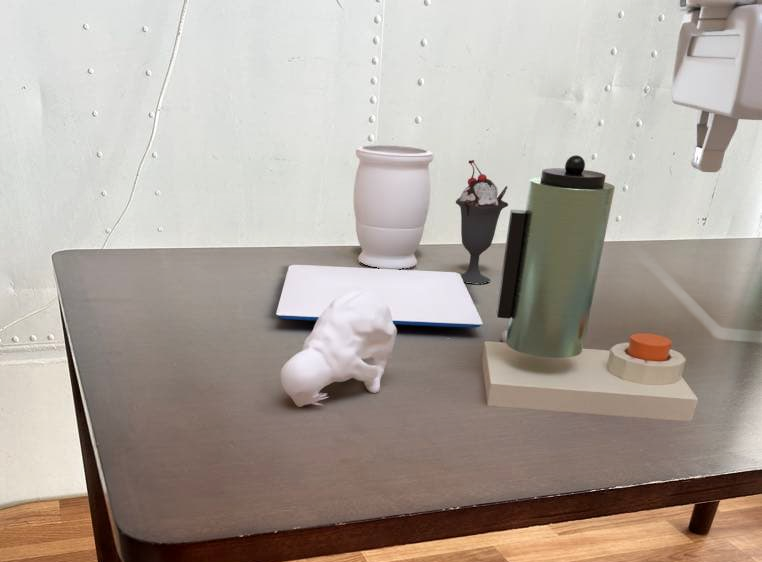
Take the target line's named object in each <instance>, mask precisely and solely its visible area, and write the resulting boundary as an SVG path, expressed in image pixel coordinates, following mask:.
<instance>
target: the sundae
mask: <svg viewBox="0 0 762 562" xmlns="http://www.w3.org/2000/svg"><path fill="white" fill-rule="evenodd" d="M468 164H470V165H471V168H472V175H471V177H470V178H468V180H467V185H468V186H466V187H464V189H463V190H462V192H461V194H460V197H459V198H457V199H456V200H455V204H456V205H458V207H459V208H460V217H461V219H460V221H461V222H460V223H461V224H460V234H461V244H462V246H463V247H464V249H465V250H466V251H467V252H468V253H469V255H470V258H469V264H468V268H467V270H466V271H465V272H463V273H462V274H460V273H459V274H460V275H461V277H462V280H463V281H464V282H469V283H470V282H471V283H485V282H488V281H490V282H491V279H490V278H489V277H487V276H484V275H483V274H482V273H481V272H480V268H479V262H480V256H481V255H482V254H483V253H484V252H485V251H487V250H488V249H489V248H490V247H491V246H492V244H493V240H494V237H495V233H496V229H497V226H498V225H497V224H498V221H499V217H500V215H501V212H502V210H503V209H505V208H507V207H508V206H509V203H508V202H506V201H504V200H503V198H504V196H505V194H506V192H507V190H508V186H507V185H506V186H504V188H503V189H502V190H501V192H500V193H499V192H498V186H497V185H496V184H495V183H494V182H493V181H492V180H491V179H488V178H487V175H486V174H484V173H482V172H481V171H480V169H479V168H478V166H477V165H476V163H475V160H474V159H472V160H468ZM474 166H475V167H474ZM475 168H476V170H477V171H478V173H479V175H478V176H477V178H476V177H474V176H475ZM498 193H499V195H498Z"/></svg>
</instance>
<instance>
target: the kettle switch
mask: <svg viewBox="0 0 762 562" xmlns="http://www.w3.org/2000/svg"><path fill="white" fill-rule="evenodd" d="M628 343H629V347H628V352H627V355H629V356H631V357H633V358H637V359H641V360H645V361H657V362H662V361H667V359H668V355H669V351H670V349H671V348H672V343H673V342H672V340H671V339H670V338H667V337H666V336H663V335H659V334H654V333H645V332H644V333H643V332H642V333H634V334H632V335H631V336H630V338H629V342H628Z"/></svg>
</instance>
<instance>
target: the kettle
mask: <svg viewBox="0 0 762 562" xmlns="http://www.w3.org/2000/svg"><path fill="white" fill-rule="evenodd" d="M585 167H586V162H585V160H584V158H583V157H582V156H580V155H577V154H576V155H572V156H570V157H569V158H567V160H566V162H565V164H564V167H550V168H544V169H542V170H541V175H540V176H538V177H532V178H530V179H529V183H528V190H527V198H526V204H525V210H524V209H510V211H509V212H510V213H509V219H508V227H507V233H506V240H505V248H504V256H503V263H502V270H501V277H500V285H499V292H498V299H497V307H496V318H498V319H509V320H508V326H507V330H508V333H507V339H506V343H507V345H508V346H509V347H510V348H512V349H513V350H515V351H518V352H520V353H523V354H527V355H531V356H536V357H543V358H569V357H574V356H577V355H579V354H580V353H581V352H582V351H583V349H584V344H585V340H586V335H587V329H588V324H589V320H590V315H591V310H592V306H593V305H592V304H593V299H594V295H595V289H596V286H597V285H596V284H597V280H598V276H599V275H598V274H599V269H600V264H601V259H602V254H603V248H604V243H605V238H606V234H607V228H608V224H609V218H610V213H611V210H612V209H611V208H612V203H613V198H614V193H615V189H616V187H615V185H614V184H611V183H609V182H606V177H607V176H606V174H605V173H602V172H598V171H595V170H587V169H585Z"/></svg>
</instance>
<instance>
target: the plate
mask: <svg viewBox="0 0 762 562" xmlns="http://www.w3.org/2000/svg"><path fill="white" fill-rule="evenodd" d="M285 275H286V276H285V278H284V279H285V280H284V284H283V286H282V291H281V294H280V298H279V301H278V305H277V309H276V313H275V315H276V316H277V317H278V318H279V319H284V320H296V321H297V320H298V321H309V322H310V321H311V322H317V320H318V318H319V317H320V316H321V315H322V313H323V311H324V310H325V309H326V308H327V307H328V306H329V305H330V304H331V303H332V302H333V301H334V300H335V299H336V298H337V297H339V296H340V295H342V294H344V293H346V292H348V291H351V290H368V291H370V292H372V293H373V294H375V295H376V296H377V297H379V298H380V299H382V300H384V301H385V302H386V304H387V305H388V307H389V309H390V312H391V316H392V321H393V324H394V325H395V326H411V327H412V326H413V327H415V326H416V327H437V328H438V327H439V328H480V327H482V325H483V324H484V323H483V320H482V318H481V316H480V314H479V312H478V310H477V308H476V305H475V304H474V301H473V299H472V297H471V295H470V292H469V290H468V289H467V286H466V283H464V282H463V280H462V277H461V275H460V273H459V272H455V271H435V270H417V269H401V270H396V269H378V268H372V267H354V266H353V267H351V266H334V265H333V266H332V265H331V266H330V265H327V266H326V265H310V264H309V265H308V264H292V265H289V266H288V268H287V272H286V274H285Z"/></svg>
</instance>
